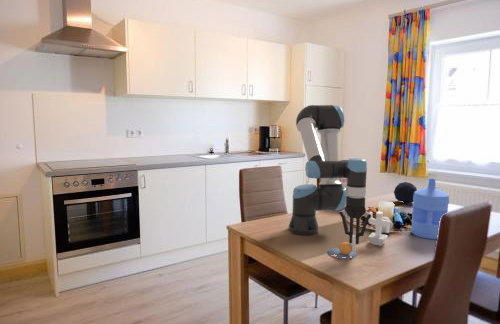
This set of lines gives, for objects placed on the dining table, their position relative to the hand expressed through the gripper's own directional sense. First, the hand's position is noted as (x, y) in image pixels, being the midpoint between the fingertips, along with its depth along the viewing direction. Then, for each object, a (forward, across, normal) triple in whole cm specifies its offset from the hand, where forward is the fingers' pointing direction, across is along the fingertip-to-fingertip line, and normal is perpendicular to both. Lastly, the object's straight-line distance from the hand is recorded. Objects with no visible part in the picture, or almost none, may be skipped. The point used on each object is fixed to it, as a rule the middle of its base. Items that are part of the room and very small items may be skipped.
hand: (353, 250), depth 148 cm
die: (+2, -11, -37) cm, 38 cm away
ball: (-1, +3, 0) cm, 3 cm away
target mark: (+2, +5, 0) cm, 5 cm away
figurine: (+2, -9, -19) cm, 21 cm away
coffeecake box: (+2, +8, -80) cm, 80 cm away
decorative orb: (+2, -24, -106) cm, 108 cm away
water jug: (+2, -32, -42) cm, 53 cm away
